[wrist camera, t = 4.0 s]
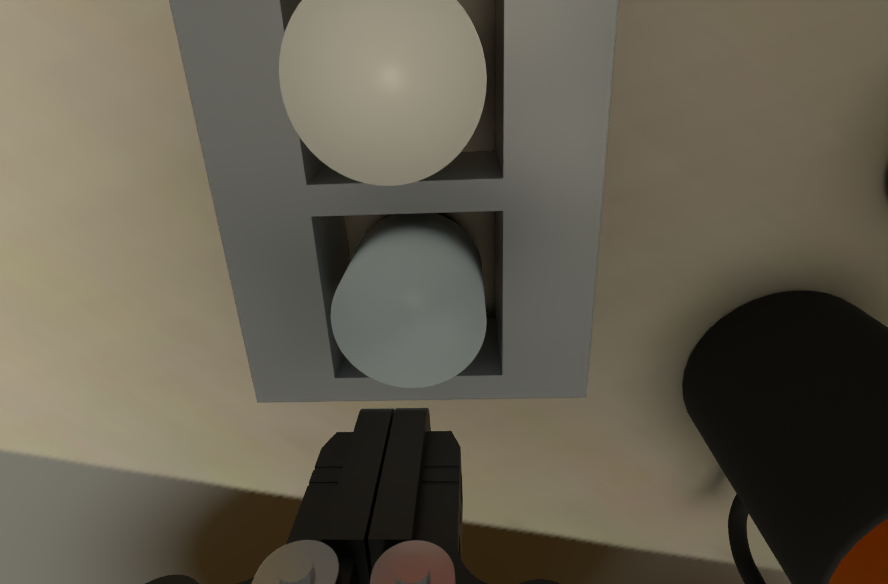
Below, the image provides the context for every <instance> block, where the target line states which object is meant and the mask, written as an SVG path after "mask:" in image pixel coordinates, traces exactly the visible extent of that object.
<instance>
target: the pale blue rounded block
mask: <svg viewBox="0 0 888 584" xmlns="http://www.w3.org/2000/svg"><path fill="white" fill-rule="evenodd" d="M486 323H487V320H486V308H485V296H484V285H483V274H482V263H481V258H480V255H479V252H478V249H477V247H476V245H475V244H474V242H473V240H472V239H471V237H470V236H469V235H468V234H467V233H466V231H465V230H464V229H463V228H461V227H460V226H459V225H458V224H456V223H455V222H453V221H452V220H450V219H448V218H446V217H444V216H442V215H439V214H436V213H412V214H393V215H391V216H388V217H386V218H384V219H382V220H381V221H379V222H378V223H377V224H375V225H374V226H373V227H372V228H371V229H370V230H369V231H368V232H367V233H366V234H365V236H364V237H363V239H362V240H361V242H360V244H359V246H358V248H357V250H356V252H355V254H354V256H353V258H352V260H351V262H350V264H349V266H348V268H347V270H346V272H345V274H344V276H343V278H342V279H341V281H340V283H339V285H338V287H337V290H336V292H335V295H334V297H333V301H332V305H331V326H332V331H333V334H334V337H335V340H336V342H337V344H338V346H339V348H340V350H341V351H342V353H343V354H344V356H345V357H346V358H347V359H348V360H349V362H350V363H351V364H352V365H353V366H355V367H356V368H357V369H358V370H359V371H361V372H362V373H364V374H365V375H367V376H368V377H370V378H372V379H374V380H376V381H379V382H381V383H384V384H387V385H391V386H396V387H402V388H421V387H428V386H433V385H436V384H439V383H442V382H444V381H447V380H449V379H451V378H453V377H454V376H456V375H458V374H459V373H460V372H461V371H463V370H464V369H465V368H466V367H467V366H468V365H469V364H470V363H471V362H472V361H473V359H474V358H475V357H476V355H477V354H478V352H479V350H480V348H481V346H482V343H483V341H484V337H485V333H486Z"/></svg>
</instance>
